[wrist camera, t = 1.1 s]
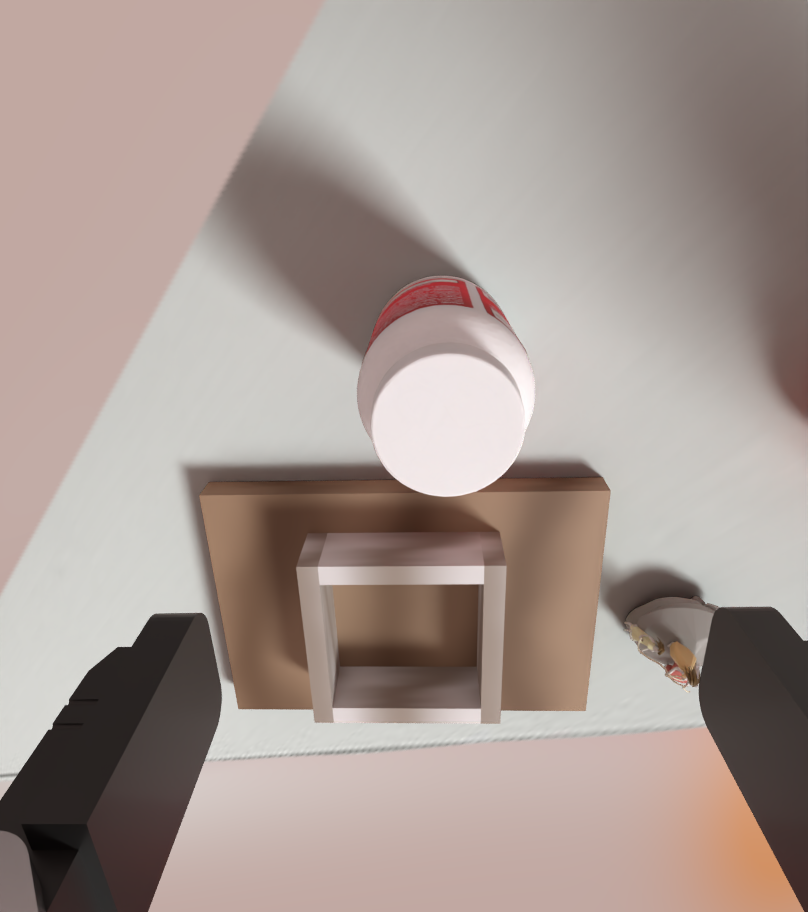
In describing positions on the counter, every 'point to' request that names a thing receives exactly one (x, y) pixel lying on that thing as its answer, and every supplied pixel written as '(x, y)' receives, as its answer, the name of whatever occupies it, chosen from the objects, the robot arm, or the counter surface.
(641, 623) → the figurine
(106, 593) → the counter surface
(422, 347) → the pill bottle
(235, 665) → the bottle holder
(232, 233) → the counter surface
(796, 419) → the counter surface
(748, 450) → the counter surface
